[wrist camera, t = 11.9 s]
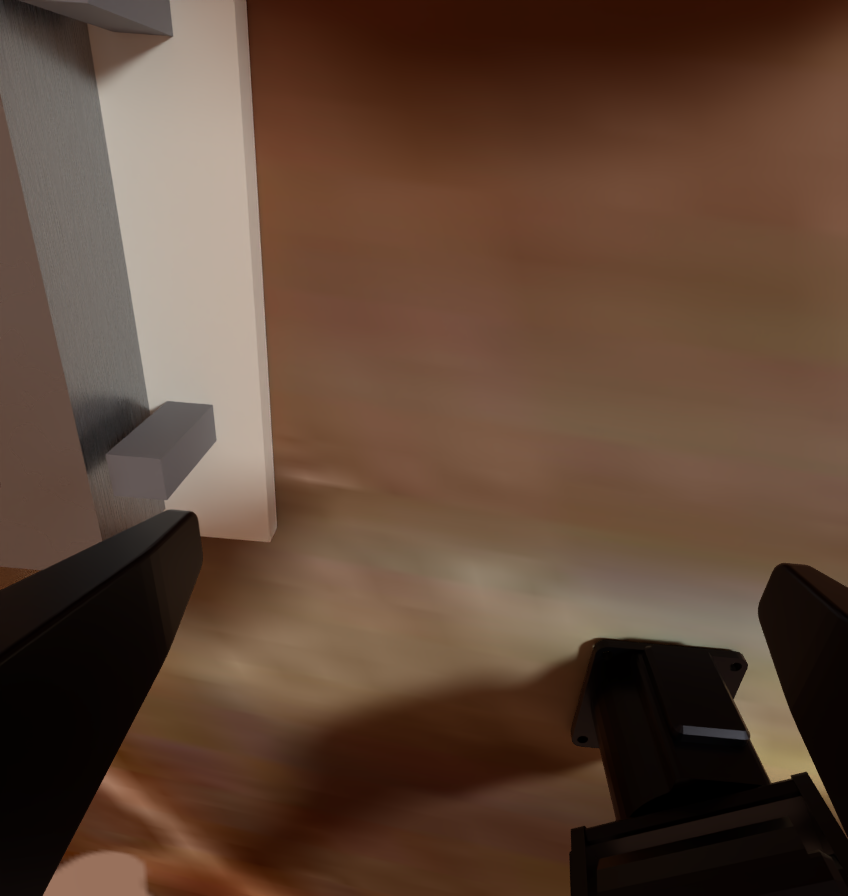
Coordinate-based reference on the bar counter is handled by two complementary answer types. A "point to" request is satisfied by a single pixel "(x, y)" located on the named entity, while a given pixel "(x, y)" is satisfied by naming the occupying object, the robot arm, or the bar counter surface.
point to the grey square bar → (60, 301)
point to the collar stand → (188, 254)
